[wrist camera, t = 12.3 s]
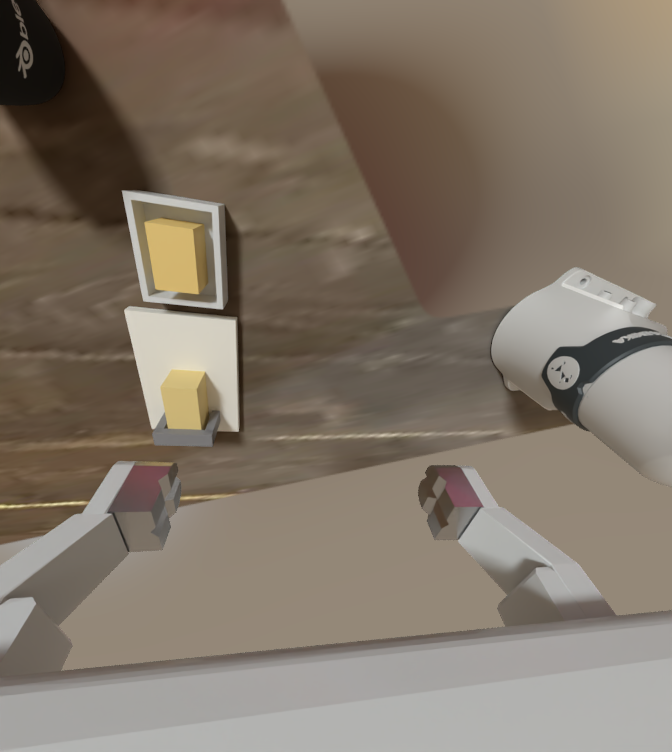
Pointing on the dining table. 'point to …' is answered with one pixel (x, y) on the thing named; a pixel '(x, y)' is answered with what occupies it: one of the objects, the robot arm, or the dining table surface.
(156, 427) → the board
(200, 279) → the stub
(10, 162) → the dining table surface
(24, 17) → the mug
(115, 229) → the dining table surface
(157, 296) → the stub tray
